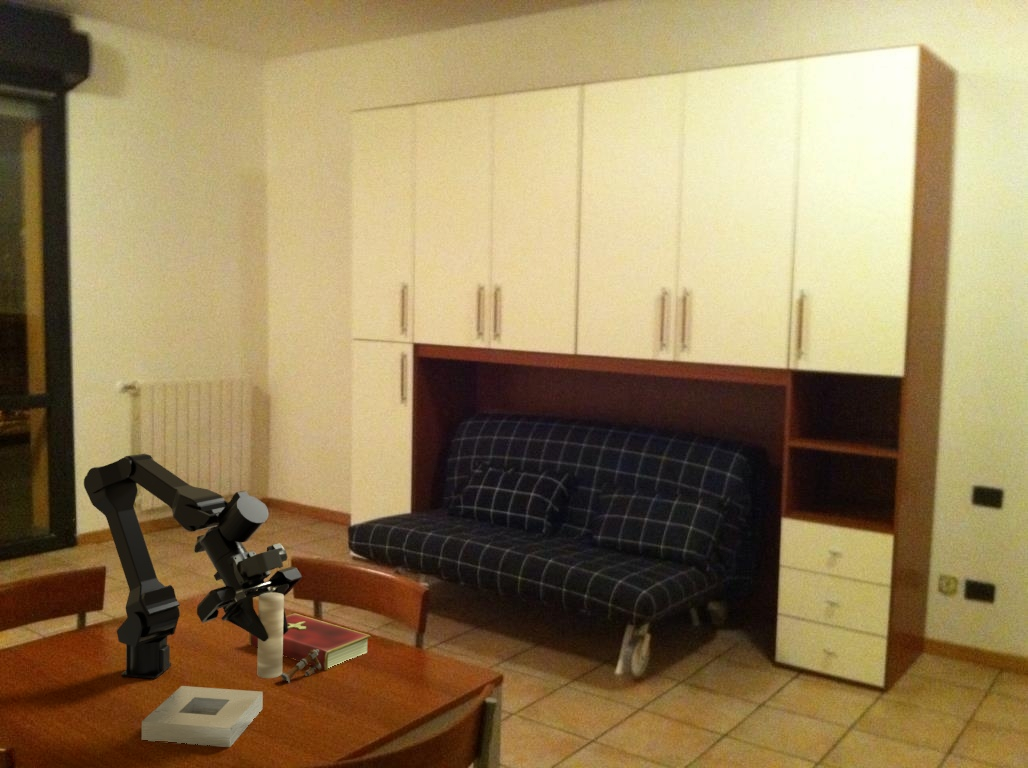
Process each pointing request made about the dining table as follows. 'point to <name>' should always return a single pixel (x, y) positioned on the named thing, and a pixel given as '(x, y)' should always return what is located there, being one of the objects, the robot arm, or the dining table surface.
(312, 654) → the wooden post with brackets
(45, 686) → the dining table surface
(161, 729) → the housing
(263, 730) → the dining table surface
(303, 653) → the hardcover book
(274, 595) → the ball
